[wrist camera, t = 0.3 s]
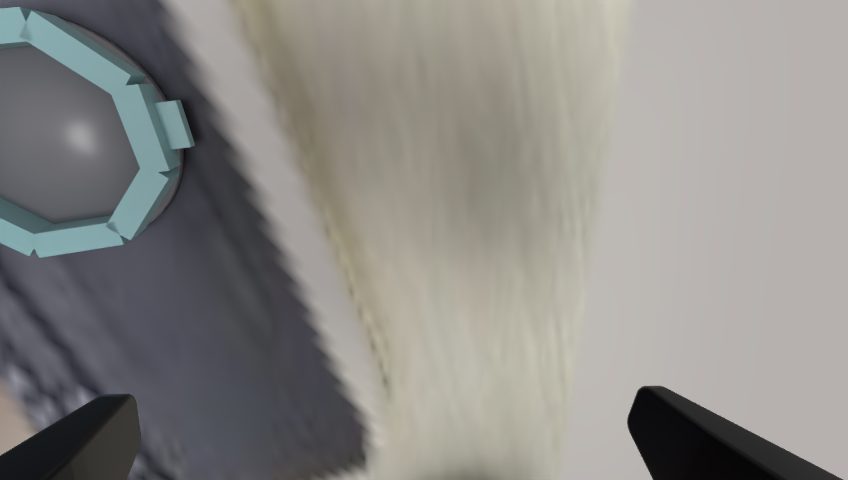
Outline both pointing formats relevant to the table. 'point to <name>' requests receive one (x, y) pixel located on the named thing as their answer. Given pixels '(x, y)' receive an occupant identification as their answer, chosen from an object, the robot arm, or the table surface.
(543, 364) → the table surface
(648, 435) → the robot arm
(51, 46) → the teal ring frame
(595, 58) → the table surface
